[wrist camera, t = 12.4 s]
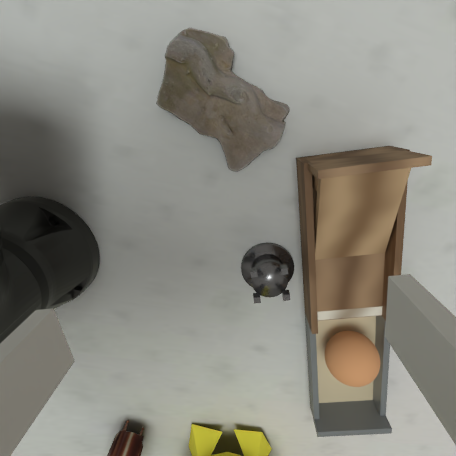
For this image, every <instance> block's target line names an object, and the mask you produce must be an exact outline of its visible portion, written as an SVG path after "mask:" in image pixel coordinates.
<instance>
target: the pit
mask: <svg viewBox="0 0 456 456" xmlns="http://www.w3.org/2000/svg"><path fill="white" fill-rule="evenodd" d="M305 320H306V338H307V355H308V373H309V391H310V407H311V411H312V415H313V420H314V424H315V428H316V432H317V437H325V436H345V435H366V434H387V433H391V432H392V428H391V426H390V424H389V422H388V420H387V418H386V400H387V384H388V368H389V352H390V343H389V342H388V340H387V339H386V337H385V327H386V321H385V319H384V318H383V317H382V316H371V317H359V318H347V319H335V320H323V321H318V334H312V333H311V330H310V326H309V323H308V320H307V317H306V314H305ZM342 331H355V332H358V333H361V334H363V335H364V336H366V337H367V338H369V339H370V340H371V341H372V343H373V344H374V345H375V347H376V348H377V350H378V353H379V356H380V370H379V373H378V375H377V377H376V378H375V379H374V380H373V381H372V382H371V383H369V384H368V385H365V386H361V387H352V386H348V385H345V384H343V383H341V382H340V381H338V380H337V379H336V378H335V377H334V376H333V375H332V374H331V373H330V371H329V369H328V367H327V365H326V362H325V347H326V345H327V342H328V341H329V339H330V338H331V337H332V336H333V335H335V334H336V333H339V332H342Z"/></svg>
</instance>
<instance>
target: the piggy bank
mask: <svg viewBox="0 0 456 456" xmlns="http://www.w3.org/2000/svg"><path fill="white" fill-rule="evenodd" d="M234 432H235V434H236V437H237V439H238V442H239V444H240V447H241V449H242V452H243V454H244V456H268V455H269V453H270V451H271V447H270V445H269V443H268V442H267V440H266V438H265V436H264V435H263V433H262V432H256V431H245V430H235V429H234ZM221 434H222V432H221V431H217V430H213V429H209V428H205V427H201V426H198V425H194V424H192V427H191V434H190V441H189V448H190V451H191V454H192V456H241V455H238V454H234V453H231V452H224V453H219V454H214V455H211V454H212V452H213V450H214V448H215V446H216V444H217V442H218V440H219V438H220V436H221Z"/></svg>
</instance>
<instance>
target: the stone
mask: <svg viewBox="0 0 456 456" xmlns="http://www.w3.org/2000/svg"><path fill="white" fill-rule="evenodd" d="M233 57H234V52H233V50H232V49H230V48H229V44H228V41H227V39H226V38H225V37H223V36H218V35H215V34H213V33H209V32H205V31H202V30H197V29H193V28H188V29H186V30H183V31H182V32H180V33H179V34H178V36H176V37H175V38H174V39H173V40H172V41H171V42H170V43H169V45H168V47H167V50H166V54H165V58H166V65H165V73H164V78H163V82H162V85H161V88H160V91H159V94H158V100H157V102H156V104H157V105H158V106H159V107H161V108H163V109H164V110H167V111H169V112H171V113H172V114H174V115H175V116H176V117H177V118H179V119H181V120H183V121H185V122H186V123H188V124H190V125H191V126H192V127H193V128H194V129H195V130H196V131H197V132H198V133H199V134H202V135H206V136H211V137H215V138H217V139H218V140H219V141H220V143H221V145H222V148H223V151H224V153H225V156H226V160H227V163H228V168H229V169H230V170H232V171H237V172H238V171H239V170H241V169H243V168H244V167H246V166H247V165H249V164H250V163H251V161H252V160H254V159H255V158H256V157H257V156H259V155H260V153H261V152H263V151H265V150H267V149H272V148H274V147H275V146H276V145H277V143H278V142H279V140H280V138H281V136H282V134H283V131H284V125H285V122H284V119H285V118H286V116H287V115H288V113H289V110H290V109H289V107H288V105H286V104H284V103H281V102H277V101H274V100H271V99H269V98H268V97H267V96H266V95H265V93H264V92H263V91H262V90H261V89H259V88H258V87H256V86H254V85H251V84H249V83H248V82H246V81H244V80H243V79H241V78H239V77H238V76H236V75H235V74H234V73H233V72H231V70H232V63H233Z"/></svg>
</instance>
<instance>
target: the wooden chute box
mask: <svg viewBox="0 0 456 456" xmlns="http://www.w3.org/2000/svg"><path fill="white" fill-rule="evenodd" d="M296 160H297V178H298V196H299V213H300V231H301V249H302V267H303V284H304V302H305V314H306V317H307V320H308V323H309V326H310V330H311V333H312V334H318V321H323V320H335V319H347V318H359V317H371V316H382V317H383V318H384V319H385V321H386V309H387V290H388V276H396V275H401V265H402V251H403V237H404V223H405V209H406V195H407V181H408V177H409V173H410V170H411V168H412V167H420V166H428V165H431V161H432V156H430V155H425V154H420V153H415V152H411V151H410V150H408V149H403V148H398V147H393V146H384V147H376V148H369V149H361V150H353V151H346V152H338V153H330V154H323V155H315V156H308V157H300V158H296Z"/></svg>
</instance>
